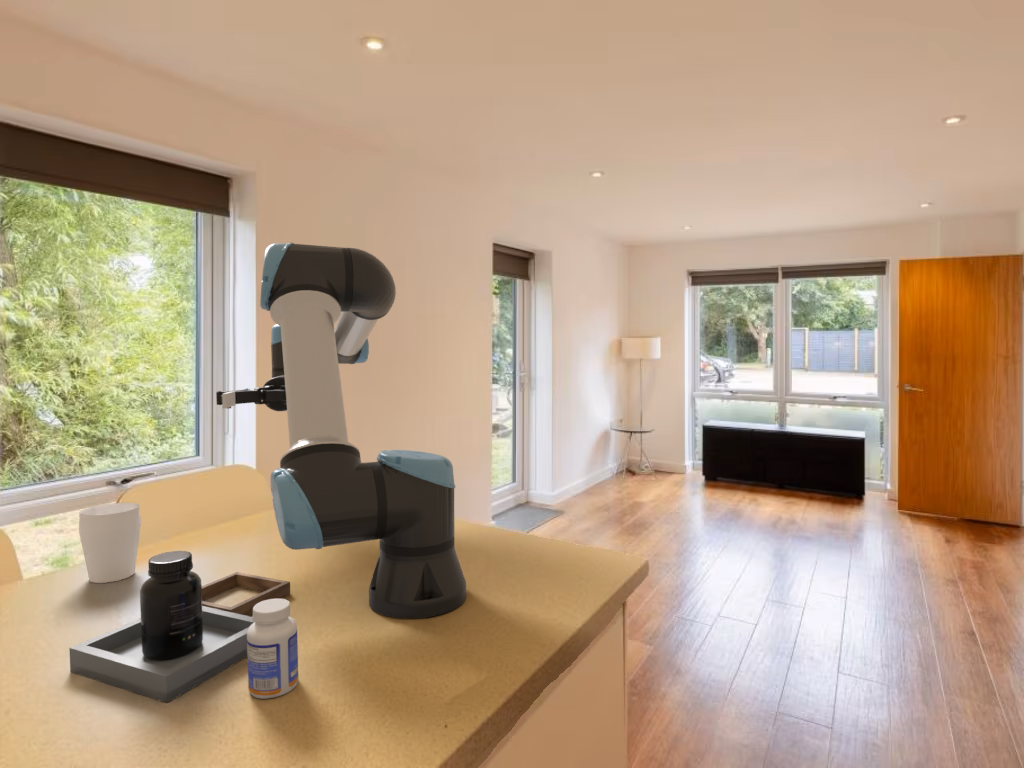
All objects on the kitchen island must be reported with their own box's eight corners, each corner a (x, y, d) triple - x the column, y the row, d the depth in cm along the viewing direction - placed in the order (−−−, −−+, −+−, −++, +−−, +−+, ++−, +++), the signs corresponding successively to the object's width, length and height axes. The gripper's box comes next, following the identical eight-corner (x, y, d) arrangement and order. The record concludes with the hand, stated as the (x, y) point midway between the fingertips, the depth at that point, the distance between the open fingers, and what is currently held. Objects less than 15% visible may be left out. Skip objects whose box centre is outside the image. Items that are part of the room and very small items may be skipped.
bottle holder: (290, 594, 96) (290, 581, 96) (230, 623, 85) (230, 610, 85) (237, 583, 101) (236, 572, 101) (174, 610, 90) (174, 597, 90)
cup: (154, 568, 108) (152, 502, 108) (116, 587, 100) (114, 516, 99) (108, 566, 109) (106, 502, 109) (67, 585, 100) (64, 515, 100)
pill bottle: (283, 669, 73) (281, 591, 72) (307, 685, 69) (305, 603, 69) (239, 689, 69) (236, 606, 68) (263, 706, 65) (260, 619, 65)
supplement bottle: (129, 654, 75) (126, 560, 74) (181, 632, 81) (179, 544, 80) (163, 667, 71) (160, 568, 71) (215, 643, 78) (212, 552, 77)
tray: (270, 642, 80) (270, 620, 80) (167, 702, 66) (166, 676, 66) (181, 621, 86) (180, 601, 86) (70, 671, 73) (69, 647, 72)
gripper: (341, 408, 134) (334, 418, 114) (222, 411, 129) (191, 422, 108) (340, 375, 134) (333, 379, 113) (221, 376, 129) (190, 380, 108)
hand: (263, 400), depth 111 cm, fingers open, 13 cm apart
